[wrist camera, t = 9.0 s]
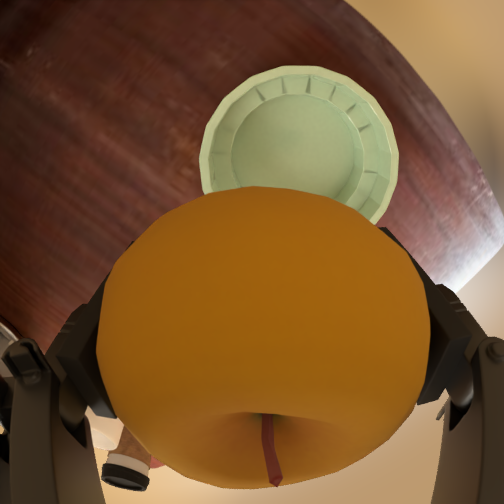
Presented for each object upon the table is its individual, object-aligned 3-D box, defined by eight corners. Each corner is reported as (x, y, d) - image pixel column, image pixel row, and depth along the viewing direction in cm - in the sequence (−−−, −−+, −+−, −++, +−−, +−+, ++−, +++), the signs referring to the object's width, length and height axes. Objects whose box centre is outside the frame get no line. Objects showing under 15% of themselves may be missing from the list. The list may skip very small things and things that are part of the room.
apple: (287, 363, 15) (302, 527, 7) (125, 292, 13) (44, 464, 5) (404, 228, 12) (536, 393, 4) (214, 106, 10) (59, 131, 2)
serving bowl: (219, 234, 31) (212, 264, 26) (203, 79, 24) (190, 72, 18) (367, 227, 30) (388, 254, 25) (371, 77, 23) (399, 73, 18)
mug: (115, 363, 41) (92, 423, 30) (144, 395, 44) (128, 452, 34) (66, 368, 42) (42, 419, 32) (94, 398, 46) (75, 447, 36)
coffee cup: (114, 402, 46) (92, 471, 33) (158, 412, 47) (142, 485, 33) (123, 424, 50) (106, 486, 37) (163, 432, 50) (151, 497, 37)
